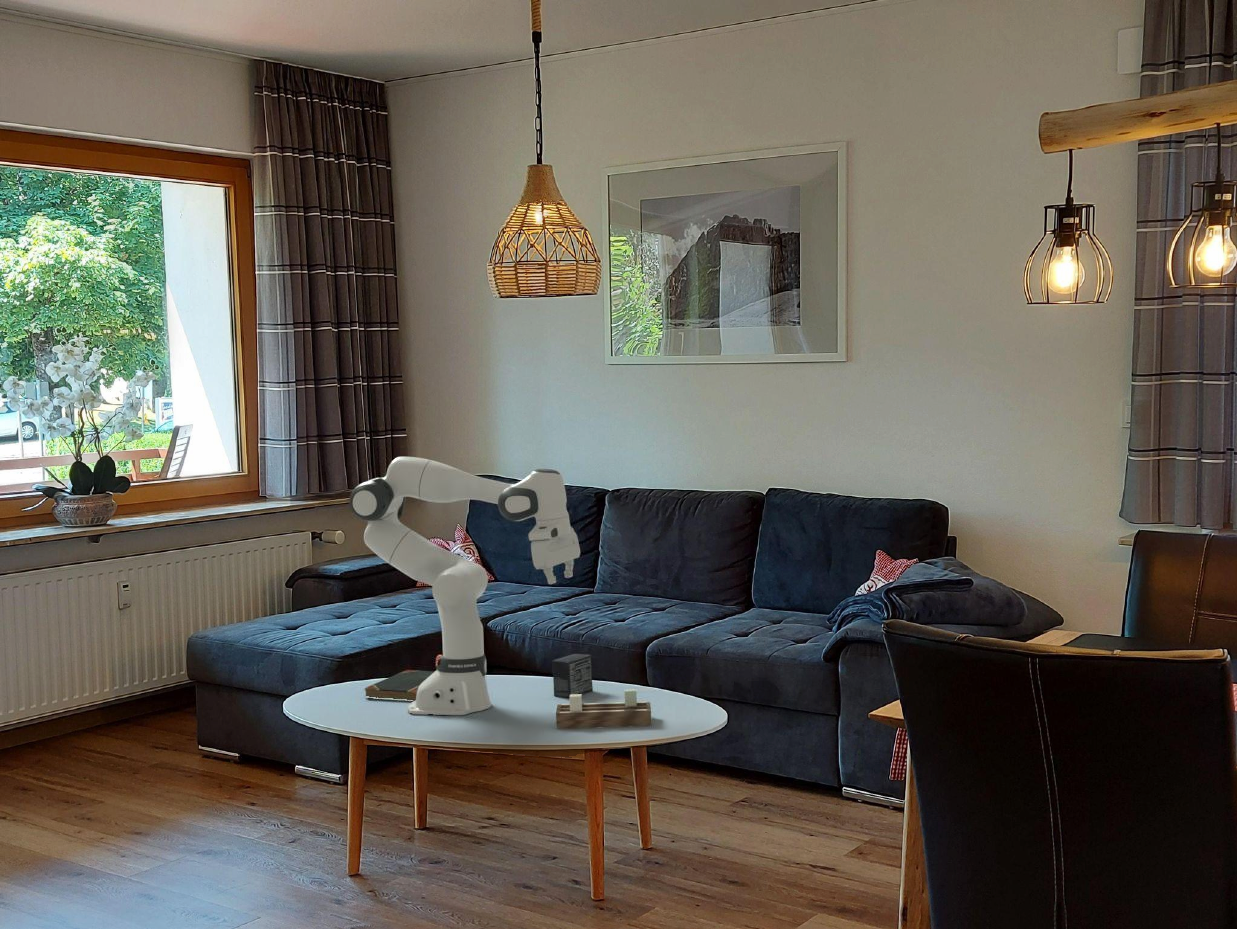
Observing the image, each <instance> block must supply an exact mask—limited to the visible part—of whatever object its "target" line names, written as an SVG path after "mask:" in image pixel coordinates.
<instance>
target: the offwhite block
mask: <svg viewBox="0 0 1237 929" xmlns="http://www.w3.org/2000/svg"><path fill="white" fill-rule="evenodd" d="M582 696H583V695H582V694H570V699H569V704H570V711H582V703H583V700H582Z"/></svg>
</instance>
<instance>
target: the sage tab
mask: <svg viewBox="0 0 1237 929" xmlns="http://www.w3.org/2000/svg"><path fill="white" fill-rule="evenodd" d="M637 698H638V697H637V688H625V689H624V702H625V706H637V702H638V699H637Z"/></svg>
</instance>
